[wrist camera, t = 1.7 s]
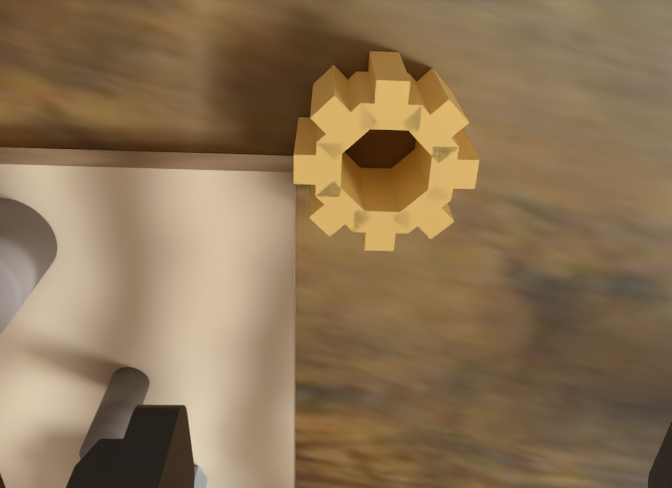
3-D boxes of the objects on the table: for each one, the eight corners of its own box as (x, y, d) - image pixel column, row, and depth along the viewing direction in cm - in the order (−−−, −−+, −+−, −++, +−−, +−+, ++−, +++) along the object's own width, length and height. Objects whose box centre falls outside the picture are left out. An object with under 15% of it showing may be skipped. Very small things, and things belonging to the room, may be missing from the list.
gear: (469, 54, 21) (492, 83, 18) (447, 205, 24) (464, 253, 21) (298, 48, 21) (293, 77, 18) (298, 201, 24) (293, 248, 21)
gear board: (295, 156, 23) (286, 228, 18) (295, 526, 34) (289, 630, 29) (-88, 144, 23) (-199, 215, 18) (39, 522, 34) (-9, 627, 29)
